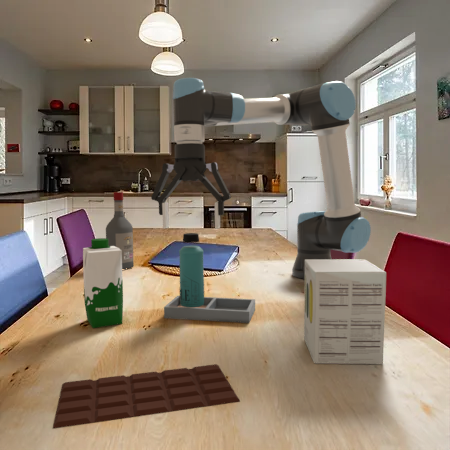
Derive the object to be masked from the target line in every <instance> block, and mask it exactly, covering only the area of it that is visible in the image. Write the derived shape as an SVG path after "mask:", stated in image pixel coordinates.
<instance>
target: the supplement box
mask: <svg viewBox="0 0 450 450" xmlns="http://www.w3.org/2000/svg"><path fill="white" fill-rule="evenodd" d="M386 293H387V272H386V271H385V270H383V269H382V268H379V267H378V266H377V265H375V264H373V263H372V262H370V261H369V260H367V259H360V258H359V259H358V258H357V259H356V258H355V259H354V258H353V259H350V258H349V259H347V258H346V259H345V258H343V259H341V258H339V259H337V258H335V259H334V258H333V259H305V279H304V295H303V296H304V304H303V305H304V309H303V312H304V313H303V315H304V316H303V319H304V320H303V321H304V322H303V339H304V342H305V344H306V347H307V349H308V352H309V354H310V357H311V359H312V362H313V363H314V364H340V365H341V364H344V365H345V364H346V365H383V364H384V344H385V343H384V341H385V320H386V317H385V315H386V314H385V313H386V299H387V298H386V297H387V295H386Z"/></svg>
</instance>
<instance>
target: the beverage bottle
mask: <svg viewBox="0 0 450 450" xmlns="http://www.w3.org/2000/svg"><path fill="white" fill-rule="evenodd" d="M182 235H183V236H182V242H183V243H191V244H192V243H199V242H200V236H199V233H196V232H195V233H194V232H187V233H183V234H182ZM178 253H179V266H178V268H179V296H180V303H181V305H182V306H184V307H200V306H202V305H203V304H204V302H205V301H204V297H205V275H204V250H203V248H202V247H200V246H199V245H184V246H182V247H181V248H180V249H179V251H178Z"/></svg>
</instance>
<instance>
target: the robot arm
mask: <svg viewBox="0 0 450 450" xmlns="http://www.w3.org/2000/svg"><path fill="white" fill-rule="evenodd" d="M172 102H173V104H172V105H173V106H172V107H173V132H174V135H173V136H174V142H175V143H176V144H175V145H174V164H170V163H167V162H165V163H163V164H162V169H161V174H160V177H159V179H158V181H157V183H156V185H155V188H154V190H153V193H152V194H151V197H150V199H151V200H152V201H156V202H157V203H158V214H159V216H162V228H163V229H168V228H170V214H169V211H170V209H169V208H170V207H169V204H170V203H169V202H166V201H167V200H168V198H169V197H170V196H171V194H172V193H173V191H175V189H176V188H177V187H178V185H179V184H180V183H181V182H182V181H183V182H188V181H189V182H190V181H192V182H197V181H199V182H201V183H202V184H203V186H204V187H205V188H206V189H207V190H208V191H209V192H210V194H211V195H212V196H213V197H214V199H215V200H216V202H214V228H215V230H218V229H220V228H221V216H223V215H224V214H225V202H226V201H228V200H230V199H231V198H232V196H231V194H230V191H229V189H228V187H227V185H226V183H225V181H224V179H223V178H222V176H221V174H220V173H221V172H220V171H219V164H218V163H217V162H215V161H213V162H211V163H206V146H205V145H204V142H205V139H206V138H205V137H206V136H205V127H214V126H215V127H217V126H231V125H245V124H246V125H247V124H248V125H249V124H263V123H264V124H265V123H266V124H267V123H275V124H276V125H279V126H281V125H285V126H286V125H293V126H310V127H311V132H312V133H313V134H315V135H316V137H317V142H318V147H319V154H320V155H319V156H320V162H321V170H322V176H323V184H324V191H325V197H326V198H325V199H326V204H327V209H326V210H321V211H319V210H318V211H310V212H301V213H300V214H299V215H298V217H297V224H296V226H297V230H296V231H297V234H296V235H297V245H296V246H297V253H296V257H295V259H294V263H293V266H292V276H293V277H295V278H298V279H304V280H305V259H332V256H331V251H332V250H333V251H338V252H343V253H352V254H353V253H360V252H361V251H362V250H364V249H365V247H366V246H367V244H368V242H369V240H370V237H371V232H372V228H371V224H370V221H369V220H368V219H367V218H366V217H363V216H362V213H361V211H362V210H361V209H360V207H358V206H357V205H356V204H355V197H354V196H355V194H354V189H353V181H352V180H353V179H352V174H351V165H350V157H349V156H350V155H349V148H348V141H347V139H348V138H347V133H346V130H347V129H348V127H349V126H350V123H351V122H350V119H351V118H352V117H353V115H354V114H355V110H356V107H357V105H356V104H357V103H356V98H355V94H354V93H353V90H352V89H351V88H350V87H349V85H347V84H346V83H345V82H343V81H339V80H335V81H327V82H325V83H320V84H317V85H313V86H310V87H306V88H302V89H299V90H296V91H292V92H289V93H279V94H276V95H275V96H273V97H253V98H252V97H251V98H244V97H243V95H240V94H239V93H233V92H231V91H229V92H226V91H217V90H216V91H215V90H209V89H205V86H204V81H203V80H202V79H199V78H196V77H182V78H179V79H176V80H175V81H174V82H173V89H172ZM207 169H208V170H209V172H211V173H212V175H213V177H214V179H215V181H216V183H217V186H218V187H219V189H220V192H221V193H220V192H219V191H218V189H217V188H216V187H215V186H214V185H213V184H212V183H211V181H210V180H209V179H208V177H207V176H206V175H205V172H206V171H207ZM173 171H174V172H175V173H176V174H175V176H174V178H172V181H171V182H170V183H169V185H168V186H167V187H166V188H165V190H164V187H165V185H166V183H167V181H168V178H169V175H170V173H172V172H173ZM163 190H164V191H163Z"/></svg>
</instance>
